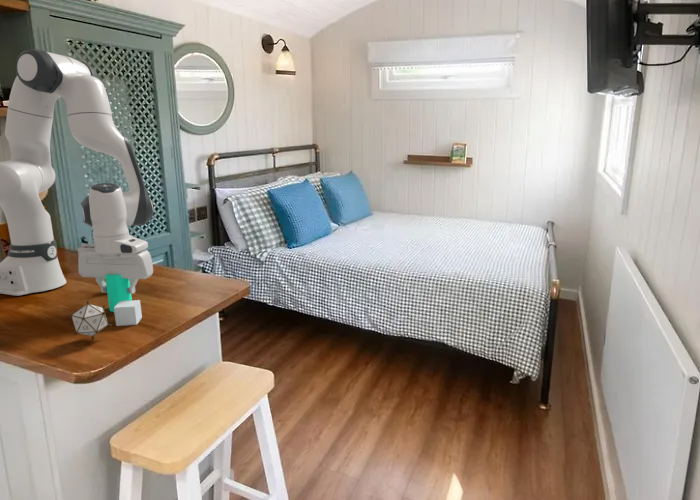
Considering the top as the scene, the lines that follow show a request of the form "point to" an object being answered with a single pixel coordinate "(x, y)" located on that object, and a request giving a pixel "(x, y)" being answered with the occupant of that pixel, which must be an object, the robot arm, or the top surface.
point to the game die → (89, 320)
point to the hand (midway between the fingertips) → (118, 292)
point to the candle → (117, 290)
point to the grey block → (128, 312)
